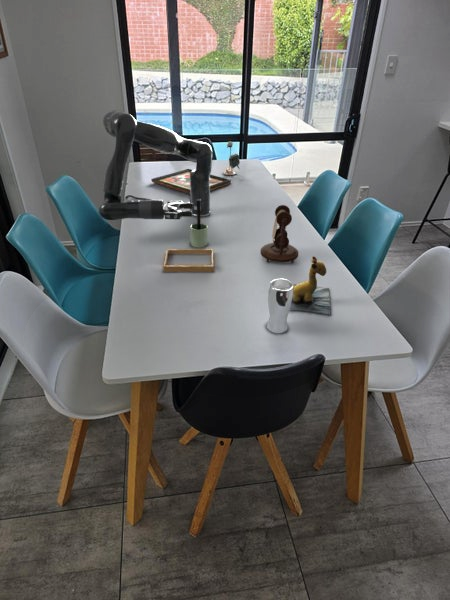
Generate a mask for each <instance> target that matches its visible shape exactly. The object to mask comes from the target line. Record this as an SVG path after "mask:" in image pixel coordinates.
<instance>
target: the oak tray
mask: <svg viewBox="0 0 450 600" xmlns="http://www.w3.org/2000/svg"><path fill="white" fill-rule="evenodd" d="M169 255H211V264H168V259H169ZM162 267H163V272H164V273H214V249H213V248H166V251H165V256H164V261H163V266H162Z"/></svg>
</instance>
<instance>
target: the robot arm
mask: <svg viewBox="0 0 450 600" xmlns="http://www.w3.org/2000/svg"><path fill="white" fill-rule="evenodd" d="M102 125H103V128H104V130H105V132H106V133H107V134H108V135H110V136H112V137H114V138H115V147H114V150H113V154H112V156H111V158H110V160H109V161H108V164H107V165H106V168H105V172H104V177H103V185H102V189H103V193H104V194H103V202H102V203H100V205H99V207H98V214H99V215H100V217H101V218H102V219H104V220H106V221H118V220H125V219H133V220H138V219H140V220H141V219H142V220H163V219H164V220H181V218H191V217H192V216H193V217H196V218H197V199H200V214H201V218H205V217H208V216H210V215H211V191H210V175H212V174H211V173H212V166H213V165H212V164H213V149H212V146H211V145H210V144H209V143H207V142H203V141H199V140H194V139H193V140H192V139H187V138H184V137H182V136H180V135H178V134H177V133H176V132H174V131H173V130H170V129H168V128H166V127H164V126H160V125H156V124H152V123H148V122H143V121H139V120H137V119H135V117H134V116H133V115H131V114H130V113H127V112H124V111H122V110H118V109H117V110H110V111H108V112H106V113H105V115H104V116H103V119H102ZM134 142H135V143H136V142H137V143H138V144H140V145H143V146H144V147H147V148H149V149H152V150H154V151H156V152H159V153H164V154H168V155H176V156H179V157H181V158H183V159H186V160H187V161H189V162H191V163H195V164H196V165H195V169H192V170H193V171H191V172H190V194H188V195H189V201H188V202H183V200H167V202H166V203H164V200H163V199H152V198H145V197H138V196H135V195H131V194H128V195H126V196H125V199H128V198H133V199H135V200H125V201H122V191H123V187H124V186H123V184H124V178H125V173H126V172H125V171H126V167H127V164H128V160H129V157H130V153H131V150H132V147H133V143H134ZM183 209H184V210H183Z"/></svg>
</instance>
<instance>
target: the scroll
mask: <svg viewBox="0 0 450 600" xmlns="http://www.w3.org/2000/svg"><path fill="white" fill-rule="evenodd" d="M274 216H275V219H274V223H273V228H272V235H271V236H272V237H271V238H272V242H271V243H267V244H264V245H263V246H262V247H260V255H261V256H262V257H263V259H265V260H266V263H269V262H275V263H292V264H293V263H294V261H295V260H297V259H298V257H299V250H298V249H297V248H296V247H295V246H293V245H291V244H290V239H289V237H288V231H287V230H286V229H287V227H288V226H289V225H291V223H292V220H293V216H292V214H291V209H290V207H289V206H287V205H285V204H280V205H278V206H277V207H276V208H275V211H274Z"/></svg>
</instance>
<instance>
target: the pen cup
mask: <svg viewBox="0 0 450 600" xmlns="http://www.w3.org/2000/svg"><path fill="white" fill-rule="evenodd" d="M189 228H190V229H189V234H190V246H191V247H195V248H204V247H206V246H207V245H208V244H209V241H208V239H209V237H208V235H209V234H208V231H209V230H208V229H209V228H208V225H207V224H206V223H202V222H201V230H197V222H196V223H193V224H190V226H189Z"/></svg>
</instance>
